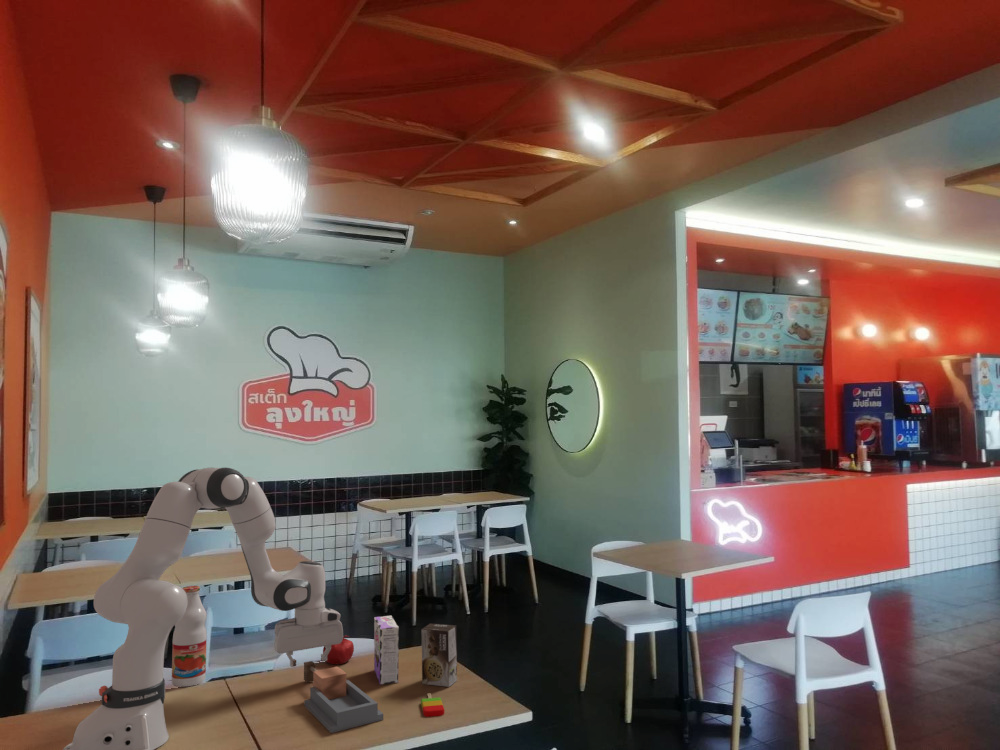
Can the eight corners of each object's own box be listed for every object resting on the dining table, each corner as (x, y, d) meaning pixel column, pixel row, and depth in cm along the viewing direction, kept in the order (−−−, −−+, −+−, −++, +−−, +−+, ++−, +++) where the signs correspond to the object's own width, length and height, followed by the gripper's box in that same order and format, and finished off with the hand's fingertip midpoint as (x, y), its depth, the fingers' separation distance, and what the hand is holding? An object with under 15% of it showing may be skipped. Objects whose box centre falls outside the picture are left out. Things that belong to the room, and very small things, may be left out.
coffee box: (457, 680, 207) (457, 625, 209) (449, 687, 201) (448, 630, 203) (430, 676, 211) (430, 622, 212) (420, 684, 205) (420, 628, 206)
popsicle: (423, 719, 181) (424, 711, 181) (419, 698, 195) (419, 690, 196) (444, 717, 182) (444, 709, 182) (438, 696, 197) (438, 689, 197)
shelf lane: (331, 733, 172) (331, 714, 172) (304, 705, 189) (304, 688, 189) (383, 719, 179) (383, 701, 180) (353, 694, 197) (353, 678, 197)
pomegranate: (357, 657, 230) (358, 628, 231) (347, 667, 220) (348, 637, 221) (329, 655, 232) (330, 627, 232) (317, 665, 222) (318, 635, 223)
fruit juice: (203, 674, 215) (205, 582, 217) (207, 683, 207) (210, 588, 209) (169, 680, 210) (172, 586, 212) (173, 689, 202) (176, 592, 204)
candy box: (373, 670, 217) (373, 616, 219) (392, 667, 219) (392, 614, 220) (379, 685, 204) (379, 628, 205) (399, 682, 206) (399, 626, 207)
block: (321, 705, 188) (321, 678, 188) (296, 681, 207) (296, 656, 207) (346, 699, 192) (346, 673, 192) (319, 676, 210) (319, 652, 211)
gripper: (277, 623, 200) (276, 672, 199) (345, 613, 211) (344, 660, 210) (272, 618, 206) (270, 666, 204) (338, 609, 217) (337, 654, 215)
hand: (308, 663), depth 207 cm, fingers open, 8 cm apart
